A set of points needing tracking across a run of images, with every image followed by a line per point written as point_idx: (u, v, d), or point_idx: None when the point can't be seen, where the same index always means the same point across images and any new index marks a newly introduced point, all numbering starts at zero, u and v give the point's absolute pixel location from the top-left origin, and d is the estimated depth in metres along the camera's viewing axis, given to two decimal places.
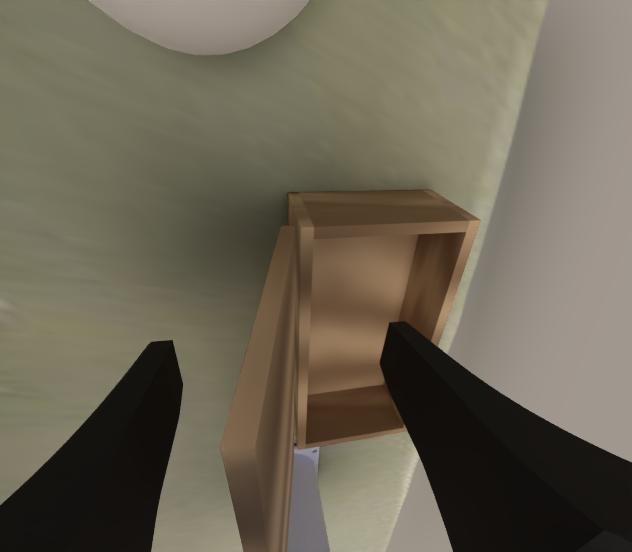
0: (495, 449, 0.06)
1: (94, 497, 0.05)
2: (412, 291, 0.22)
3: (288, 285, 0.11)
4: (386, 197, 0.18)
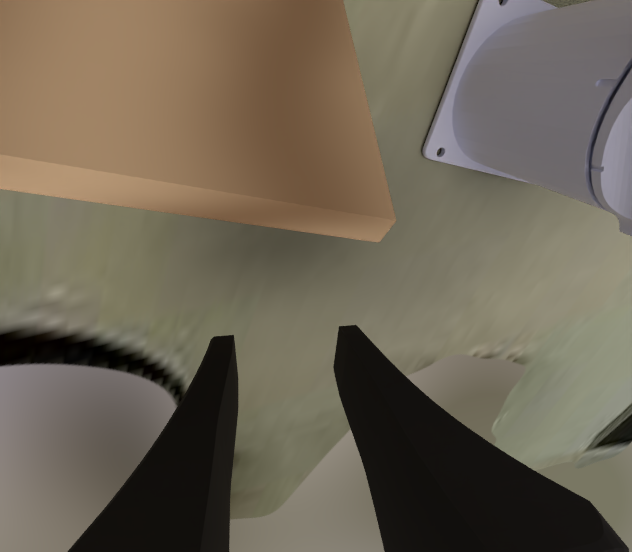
0: (415, 463, 0.06)
1: (208, 478, 0.06)
2: None
3: None
4: None
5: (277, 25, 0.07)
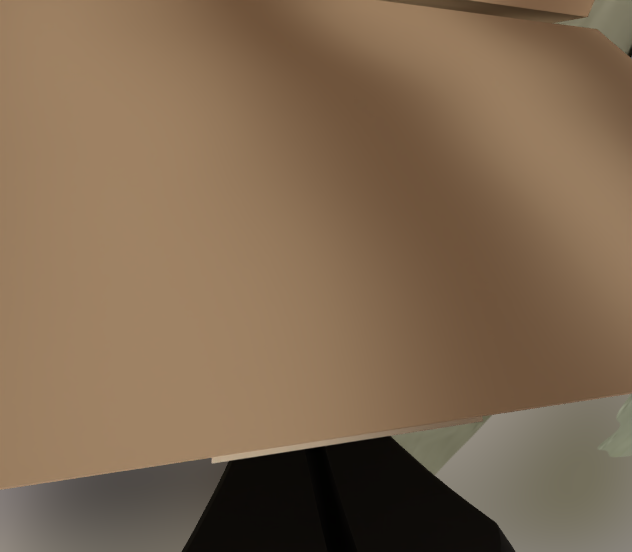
0: (330, 479, 0.06)
1: (303, 462, 0.06)
2: None
3: None
4: None
5: None
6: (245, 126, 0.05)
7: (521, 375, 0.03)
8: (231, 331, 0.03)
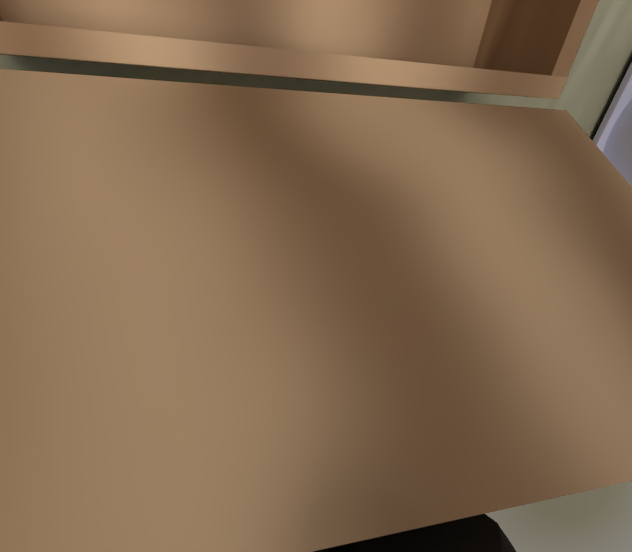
0: None
1: None
2: None
3: None
4: None
5: (589, 207, 0.08)
6: (251, 253, 0.06)
7: (466, 487, 0.04)
8: (243, 459, 0.04)
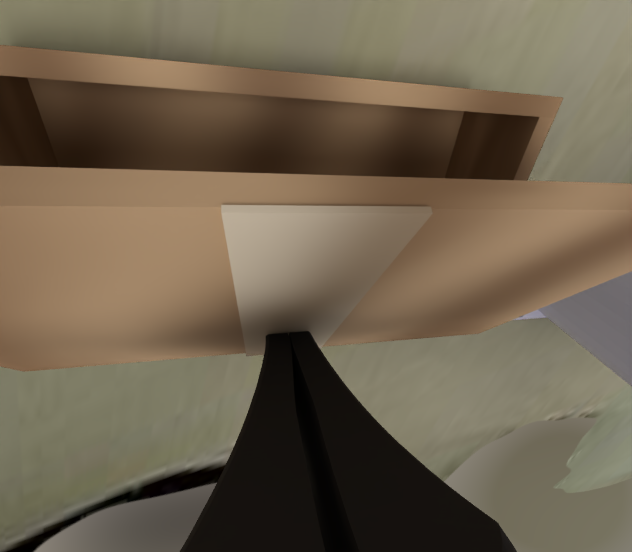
0: (331, 478, 0.06)
1: (302, 462, 0.06)
2: None
3: None
4: None
5: None
6: None
7: None
8: None
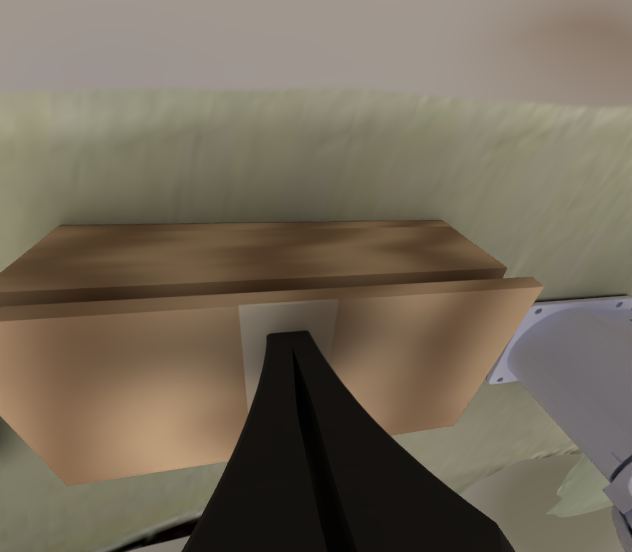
0: (330, 478, 0.06)
1: (303, 462, 0.06)
2: None
3: None
4: None
5: None
6: None
7: None
8: None
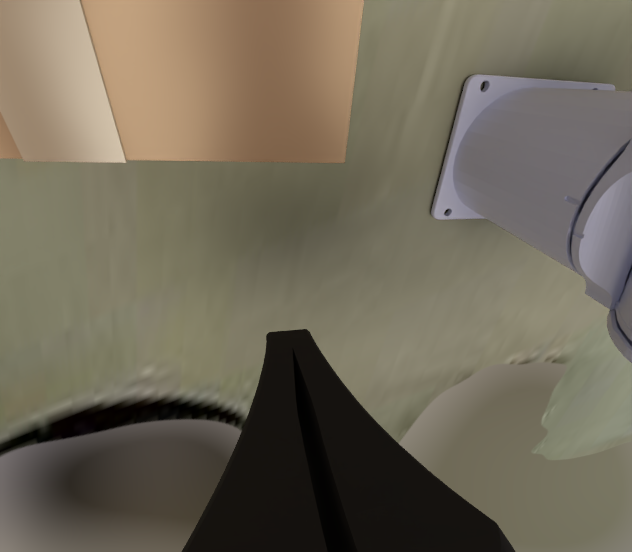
0: (330, 478, 0.06)
1: (303, 462, 0.06)
2: None
3: None
4: None
5: None
6: None
7: None
8: None
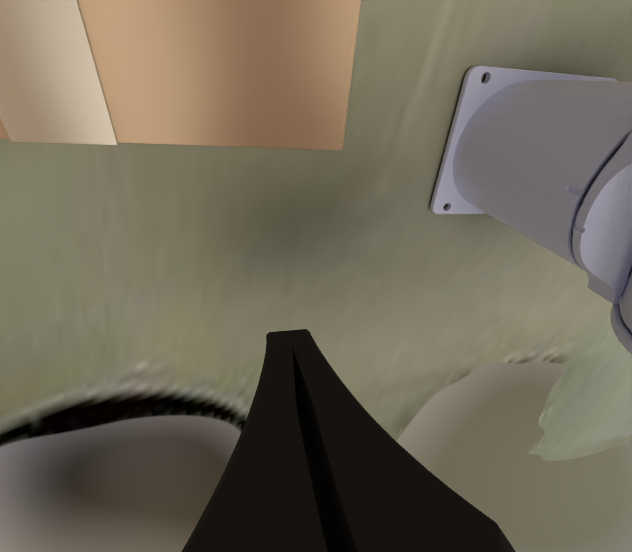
0: (330, 478, 0.06)
1: (303, 462, 0.06)
2: None
3: None
4: None
5: None
6: None
7: None
8: None
